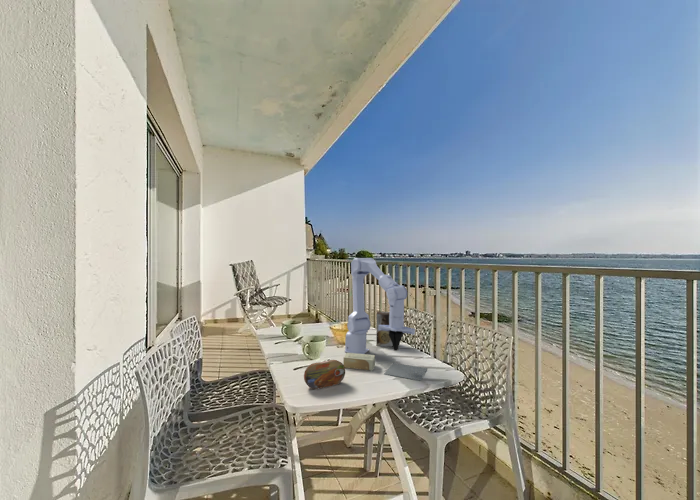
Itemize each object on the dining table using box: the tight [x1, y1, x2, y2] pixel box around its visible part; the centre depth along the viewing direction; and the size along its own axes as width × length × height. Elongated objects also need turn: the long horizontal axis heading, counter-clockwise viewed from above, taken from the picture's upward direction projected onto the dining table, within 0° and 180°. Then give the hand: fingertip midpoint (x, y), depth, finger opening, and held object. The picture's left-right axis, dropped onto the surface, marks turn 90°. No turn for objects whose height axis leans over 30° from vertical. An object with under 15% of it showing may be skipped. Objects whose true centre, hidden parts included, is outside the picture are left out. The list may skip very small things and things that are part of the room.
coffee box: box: [375, 311, 393, 347], centre depth 160 cm, size 9×6×16 cm
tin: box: [303, 359, 346, 390], centre depth 112 cm, size 15×3×8 cm, turn 117°
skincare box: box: [342, 352, 376, 372], centre depth 130 cm, size 6×4×12 cm
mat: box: [383, 362, 428, 382], centre depth 126 cm, size 14×13×1 cm
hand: (396, 350), depth 127 cm, fingers closed
